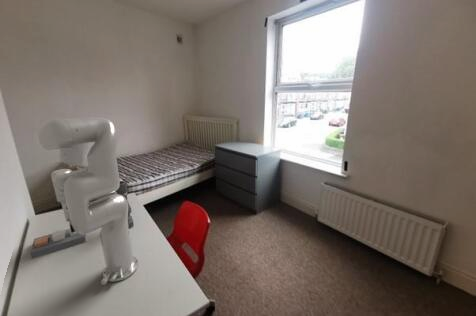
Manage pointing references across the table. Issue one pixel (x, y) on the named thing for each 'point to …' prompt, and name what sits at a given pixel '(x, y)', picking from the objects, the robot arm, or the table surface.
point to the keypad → (56, 244)
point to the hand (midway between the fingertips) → (75, 230)
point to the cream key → (58, 235)
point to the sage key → (73, 233)
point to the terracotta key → (41, 241)
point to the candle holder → (123, 192)
